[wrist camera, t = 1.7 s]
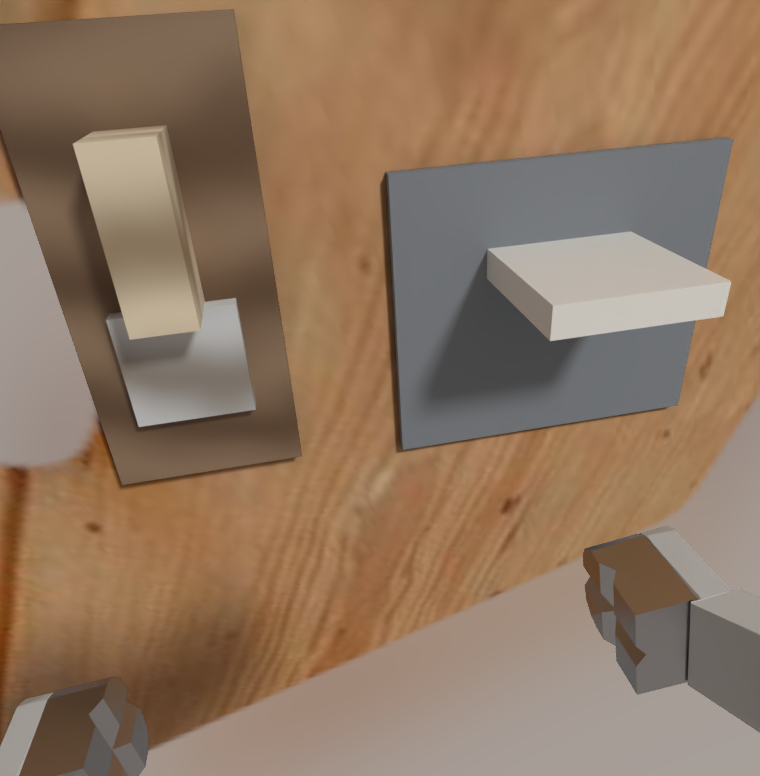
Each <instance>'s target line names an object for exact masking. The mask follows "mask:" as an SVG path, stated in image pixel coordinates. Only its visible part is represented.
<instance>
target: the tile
mask: <svg viewBox="0 0 760 776" xmlns="http://www.w3.org/2000/svg"><path fill="white" fill-rule="evenodd" d="M487 279H488V280H489V281H490V282H491V283H492V284H493V285H494V286H495V287H496V288H497V289H498V290H499V291H500V292H501V293H502V294H503V295H504V296H505V297H506V298H507V299H508V300H509V301H510V302H511V303H512V304H513V305H514V306H515V307H516V308H517V309H518V310H519V311H520V312H521V313H522V314H523V315H524V316H525V317H526V318H527V319H528V320H529V321H530V322H531V323H532V324H533V325H534V326H535V327H536V328H537V329H538V330H539V331H540V332H541V333H542V334H543V335H544V336H545V337H546V338H547V339H548V340H549V341H555V340H562V339H569V338H576V337H583V336H590V335H597V334H604V333H611V332H618V331H625V330H631V329H638V328H645V327H652V326H659V325H666V324H673V323H680V322H687V321H694V320H701V319H708V318H715V317H722V316H724V311H725V307H726V303H727V298H728V294H729V290H730V286H731V281H729V280H727V279H725V278H723V277H721V276H719V275H717V274H715V273H713V272H711V271H709V270H707V269H705V268H703V267H701V266H699V265H697V264H695V263H693V262H691V261H689V260H687V259H685V258H683V257H681V256H679V255H677V254H675V253H673V252H671V251H669V250H667V249H665V248H663V247H661V246H659V245H657V244H655V243H653V242H651V241H649V240H647V239H645V238H643V237H641V236H639V235H637V234H635V233H633V232H631V231H630V232H622V233H614V234H606V235H597V236H589V237H581V238H573V239H564V240H556V241H548V242H540V243H531V244H523V245H515V246H507V247H498V248H490V249H487Z"/></svg>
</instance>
